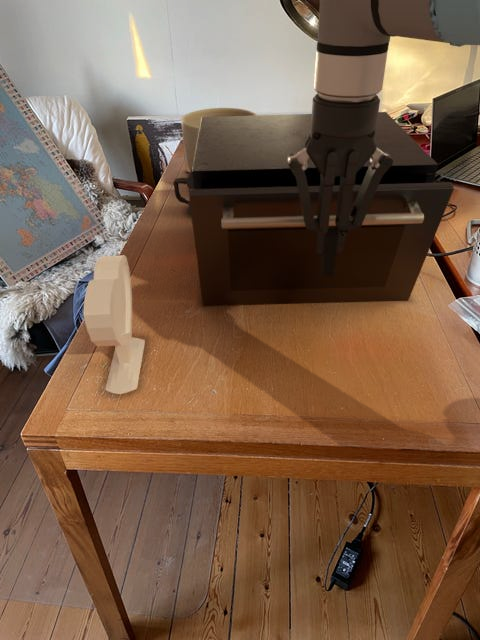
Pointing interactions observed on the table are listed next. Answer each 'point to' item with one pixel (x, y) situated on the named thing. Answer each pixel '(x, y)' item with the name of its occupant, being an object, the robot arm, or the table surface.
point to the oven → (289, 138)
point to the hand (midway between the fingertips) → (326, 271)
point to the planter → (193, 126)
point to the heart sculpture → (114, 321)
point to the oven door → (311, 245)
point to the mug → (189, 184)
